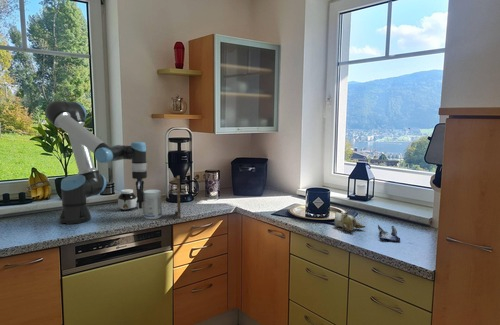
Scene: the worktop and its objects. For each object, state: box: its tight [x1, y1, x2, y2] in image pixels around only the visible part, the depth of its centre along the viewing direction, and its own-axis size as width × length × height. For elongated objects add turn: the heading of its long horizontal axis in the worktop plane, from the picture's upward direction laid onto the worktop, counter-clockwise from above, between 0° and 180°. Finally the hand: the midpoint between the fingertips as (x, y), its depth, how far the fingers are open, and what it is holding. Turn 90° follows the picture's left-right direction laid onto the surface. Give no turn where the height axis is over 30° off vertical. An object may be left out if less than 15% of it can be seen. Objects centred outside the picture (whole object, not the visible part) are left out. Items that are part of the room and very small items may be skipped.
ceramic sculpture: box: [334, 211, 366, 232], centre depth 182 cm, size 11×9×15 cm
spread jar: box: [117, 188, 138, 212], centre depth 221 cm, size 12×11×12 cm
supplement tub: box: [143, 189, 163, 220], centre depth 202 cm, size 10×10×15 cm
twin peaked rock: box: [377, 224, 401, 243], centre depth 169 cm, size 12×7×12 cm
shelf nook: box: [169, 175, 182, 220], centre depth 204 cm, size 5×10×22 cm, turn 11°
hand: (140, 213), depth 201 cm, fingers closed
